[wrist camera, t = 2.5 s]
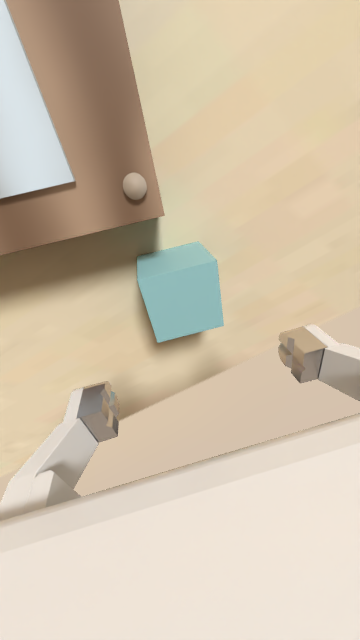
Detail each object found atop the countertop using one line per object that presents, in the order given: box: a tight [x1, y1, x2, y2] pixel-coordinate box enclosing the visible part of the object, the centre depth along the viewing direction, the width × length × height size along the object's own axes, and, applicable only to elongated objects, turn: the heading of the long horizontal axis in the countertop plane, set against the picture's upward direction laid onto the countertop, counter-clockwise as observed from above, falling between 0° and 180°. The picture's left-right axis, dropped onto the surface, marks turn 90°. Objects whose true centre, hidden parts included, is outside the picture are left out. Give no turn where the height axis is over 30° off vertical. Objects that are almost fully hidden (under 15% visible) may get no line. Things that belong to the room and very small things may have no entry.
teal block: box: [137, 242, 224, 343], centre depth 17 cm, size 5×5×5 cm
